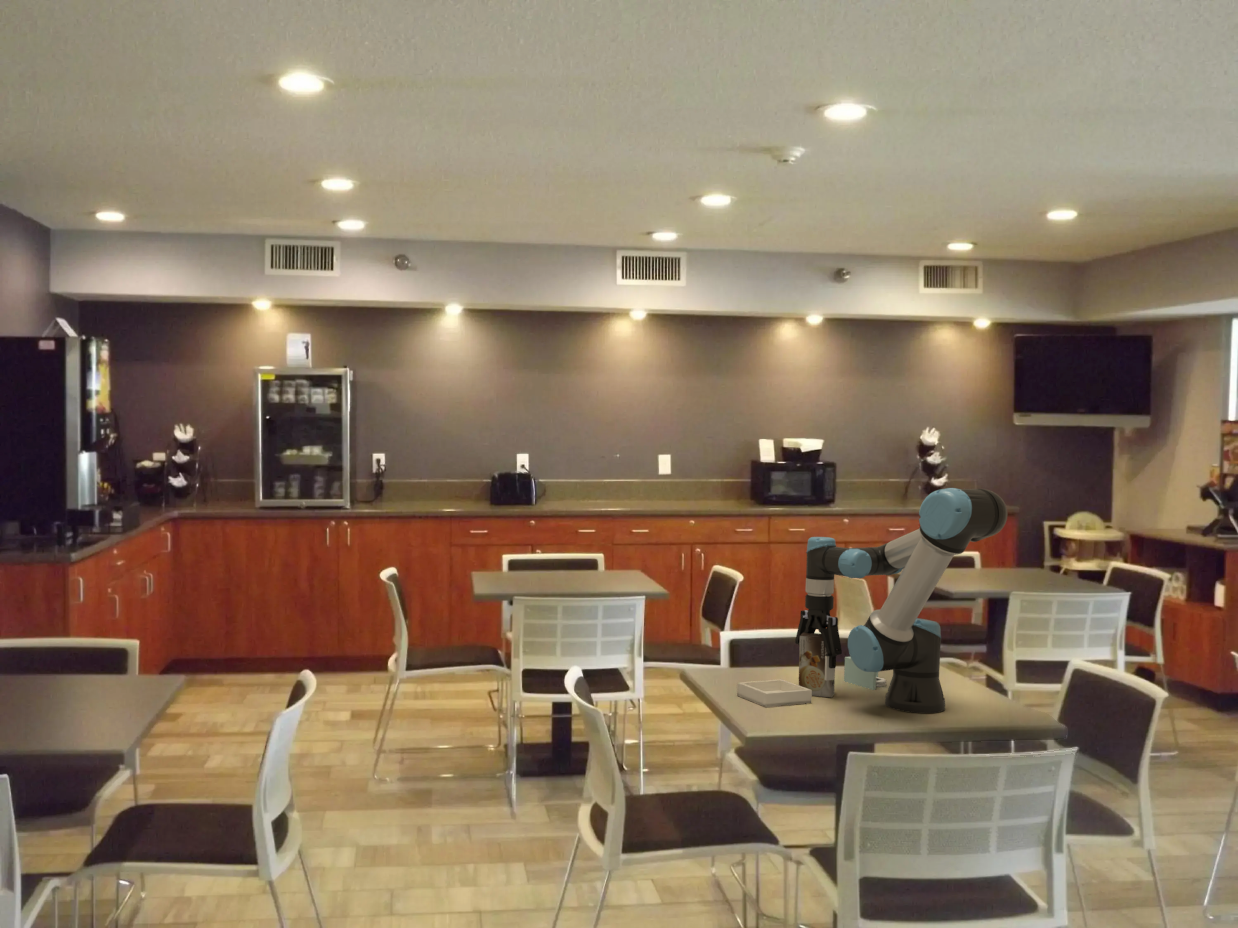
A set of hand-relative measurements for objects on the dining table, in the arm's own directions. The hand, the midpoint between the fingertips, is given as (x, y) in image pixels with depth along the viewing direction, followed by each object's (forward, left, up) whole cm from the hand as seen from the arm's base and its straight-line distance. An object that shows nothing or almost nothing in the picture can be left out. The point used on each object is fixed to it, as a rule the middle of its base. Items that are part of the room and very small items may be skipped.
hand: (816, 675), depth 306 cm
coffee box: (0, 0, -5) cm, 5 cm away
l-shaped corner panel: (+6, -24, -6) cm, 25 cm away
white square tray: (-2, +15, -5) cm, 16 cm away
